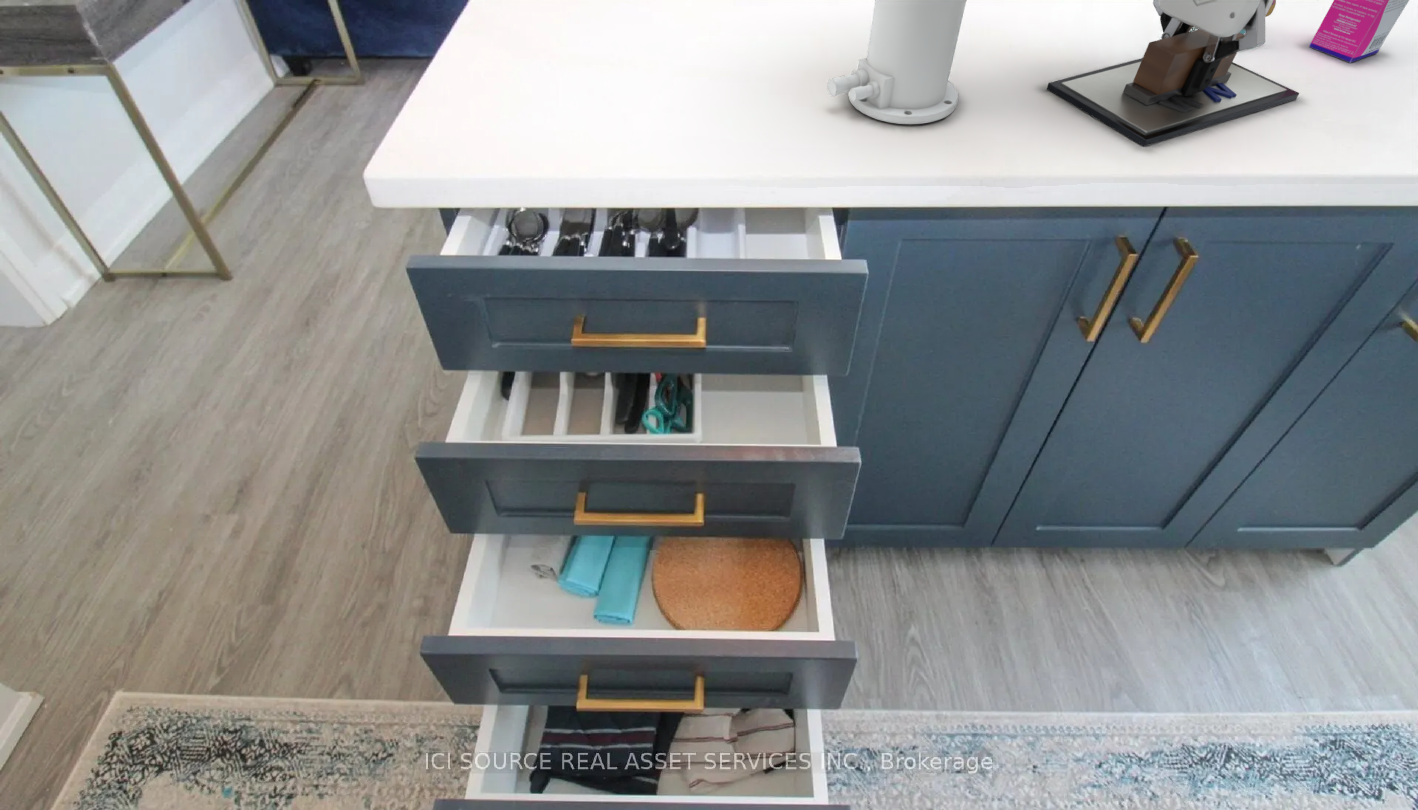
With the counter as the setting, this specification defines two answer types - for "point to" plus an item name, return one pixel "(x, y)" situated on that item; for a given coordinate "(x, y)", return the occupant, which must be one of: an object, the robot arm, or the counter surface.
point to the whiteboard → (1159, 122)
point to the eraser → (1173, 67)
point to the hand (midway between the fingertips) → (1177, 83)
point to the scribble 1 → (1181, 103)
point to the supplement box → (1356, 27)
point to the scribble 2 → (1219, 92)
